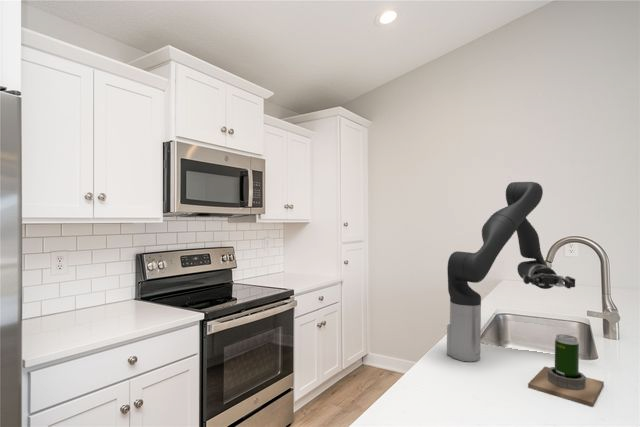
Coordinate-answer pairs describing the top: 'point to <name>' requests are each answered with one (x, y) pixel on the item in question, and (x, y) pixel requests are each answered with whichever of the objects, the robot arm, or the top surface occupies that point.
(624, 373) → the top surface
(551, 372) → the can holder
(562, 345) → the beer can
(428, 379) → the top surface
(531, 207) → the robot arm
